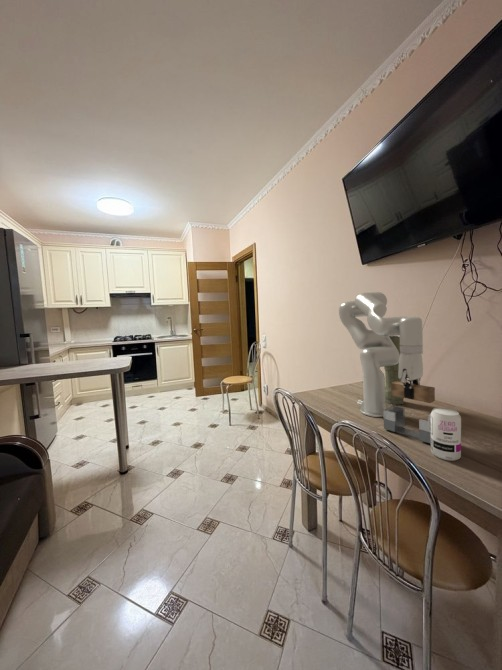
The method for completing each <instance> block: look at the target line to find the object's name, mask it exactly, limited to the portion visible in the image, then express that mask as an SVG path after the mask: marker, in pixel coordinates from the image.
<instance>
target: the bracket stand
mask: <svg viewBox="0 0 502 670" xmlns="http://www.w3.org/2000/svg"><path fill="white" fill-rule="evenodd" d="M405 412H406V408H405V407H402V406H399V405H391V406H389V407H387V408H386V409H385V410H384V417H383V429H384V430H386V431H387V430H388V431H391V432H394V433H396V434H399V435H403V436H406V437H409V438H412V439H415V440H417V441H421V442H424V443H427V444H430V445H431V413H429V414H427V420H425V419H418V427H419V428H418V429H419V431H416V430H413V429H410V428H407V427H406V425H405V424H406V413H405Z"/></svg>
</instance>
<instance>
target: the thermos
mask: <svg viewBox="0 0 502 670" xmlns="http://www.w3.org/2000/svg"><path fill="white" fill-rule="evenodd" d="M389 337H390V339H391V340H392V342H393V343H394V345H395V346H396V348H397V350H398V352H399V354H400V336H399V335H395V336H389ZM383 369H384V371H385V373H384V376H385V404H388V405H391V404H392V405H391V406H401V404H402V405H404V399H405V398H402V397H398V396H393V395H391V383H392V382H395V381H398V382H401V379H399V376H398V372H399V363H398V364H396V365H393V366H384V367H383Z"/></svg>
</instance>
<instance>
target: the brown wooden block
mask: <svg viewBox="0 0 502 670" xmlns="http://www.w3.org/2000/svg"><path fill="white" fill-rule="evenodd" d="M409 384H410V382H409ZM412 388H414V399H410V398H405V397H404V387H403V383H401V382H398V381H395V382H392V383H391V395H393V396H398V397H402V398H404V399H408V400H414V401H416V402H417V401H418V402H421V403H426V404H431V403H433V402H435V401H436V397H435V396H436V392H435V390H436V388H435V387H433V386H428V385H422V384H420V385H417V384H413V387H412Z"/></svg>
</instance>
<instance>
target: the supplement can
mask: <svg viewBox="0 0 502 670" xmlns="http://www.w3.org/2000/svg"><path fill="white" fill-rule="evenodd" d="M430 415H431V444H430V451H431V453H432V454H433V455H434V456H435V457H436V458H439V459H442V460H445V461H452V462H455V461H458V460H459V459H460V458H462V416H461V415H460V413H459V412H458V411H457V410H455V409H452V408H447V407H435V408H433V409H432V410H431V412H430Z"/></svg>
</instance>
